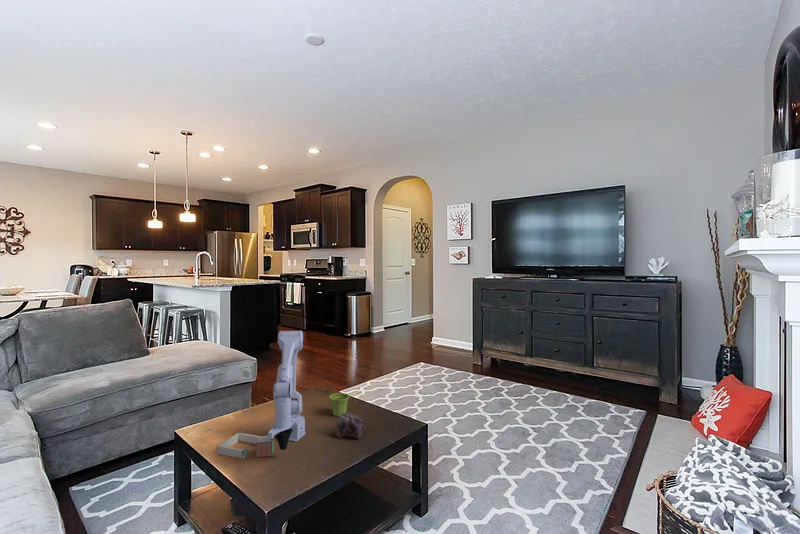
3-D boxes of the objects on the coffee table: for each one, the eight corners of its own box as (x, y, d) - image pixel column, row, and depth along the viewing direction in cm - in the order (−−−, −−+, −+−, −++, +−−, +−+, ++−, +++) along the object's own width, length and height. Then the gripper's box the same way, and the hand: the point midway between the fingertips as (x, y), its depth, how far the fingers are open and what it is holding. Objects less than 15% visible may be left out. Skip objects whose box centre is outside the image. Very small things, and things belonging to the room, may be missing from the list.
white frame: (263, 444, 160) (263, 436, 160) (243, 458, 148) (243, 451, 148) (238, 439, 163) (238, 432, 163) (217, 453, 152) (217, 446, 152)
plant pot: (327, 412, 192) (327, 394, 192) (346, 409, 196) (346, 391, 196) (332, 419, 184) (332, 401, 183) (351, 416, 188) (352, 398, 187)
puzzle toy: (273, 449, 156) (273, 435, 156) (271, 456, 150) (271, 441, 150) (258, 450, 155) (258, 436, 155) (255, 457, 149) (255, 443, 149)
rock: (356, 445, 162) (366, 434, 172) (359, 425, 161) (369, 415, 171) (331, 436, 166) (342, 425, 175) (334, 417, 165) (345, 407, 174)
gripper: (286, 405, 158) (286, 438, 158) (261, 418, 144) (261, 455, 145) (301, 407, 155) (301, 442, 156) (276, 422, 142) (276, 459, 142)
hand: (283, 448), depth 150 cm, fingers closed
